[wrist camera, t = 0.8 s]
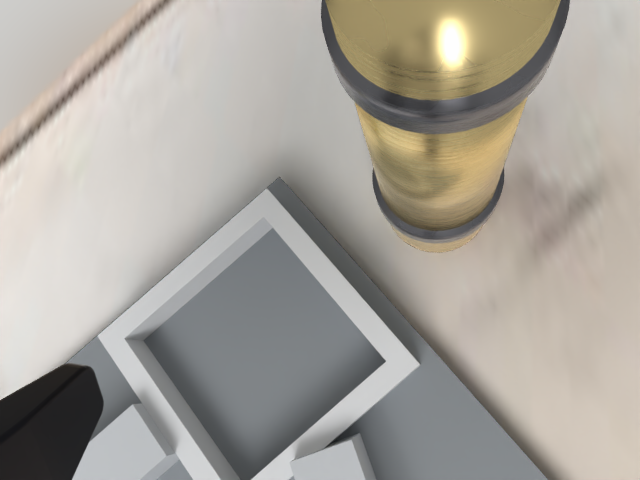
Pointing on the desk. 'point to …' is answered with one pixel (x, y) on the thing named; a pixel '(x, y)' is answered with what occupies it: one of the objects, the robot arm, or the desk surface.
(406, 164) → the disc
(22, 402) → the robot arm
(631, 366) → the desk surface
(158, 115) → the desk surface
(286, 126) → the desk surface
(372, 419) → the coupling station
